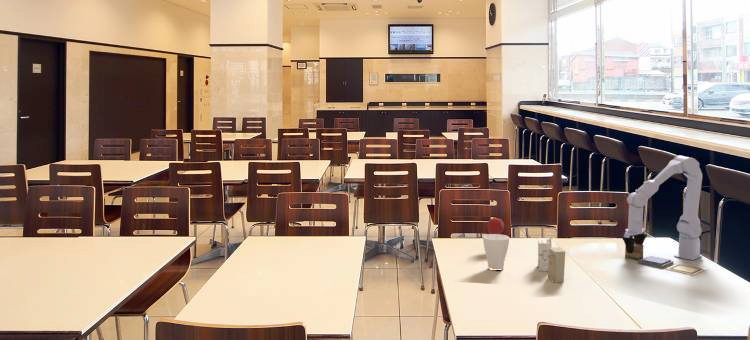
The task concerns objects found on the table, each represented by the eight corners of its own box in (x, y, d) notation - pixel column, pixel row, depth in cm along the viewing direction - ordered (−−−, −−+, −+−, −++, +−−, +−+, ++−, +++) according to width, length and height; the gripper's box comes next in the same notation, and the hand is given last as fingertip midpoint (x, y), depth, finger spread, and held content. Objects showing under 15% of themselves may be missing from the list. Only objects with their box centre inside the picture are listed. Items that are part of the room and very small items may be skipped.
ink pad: (649, 259, 265) (649, 255, 264) (673, 263, 257) (673, 259, 257) (638, 263, 258) (638, 259, 258) (662, 268, 251) (662, 264, 250)
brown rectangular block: (629, 256, 270) (630, 242, 270) (642, 258, 266) (643, 245, 265) (624, 257, 268) (625, 244, 267) (638, 260, 263) (639, 246, 262)
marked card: (677, 264, 256) (677, 263, 256) (705, 269, 248) (705, 268, 248) (665, 269, 249) (665, 268, 249) (694, 275, 241) (694, 274, 241)
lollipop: (487, 252, 279) (487, 219, 277) (486, 247, 287) (487, 216, 285) (504, 252, 278) (504, 220, 276) (503, 248, 285) (504, 216, 283)
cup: (510, 266, 256) (510, 234, 254) (507, 273, 246) (507, 240, 244) (484, 264, 259) (485, 233, 257) (480, 271, 249) (481, 238, 247)
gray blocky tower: (537, 265, 257) (538, 231, 255) (549, 266, 256) (550, 231, 254) (538, 271, 249) (539, 235, 247) (551, 272, 248) (552, 236, 246)
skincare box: (547, 278, 240) (548, 247, 238) (558, 277, 240) (559, 247, 239) (553, 282, 233) (554, 251, 232) (564, 282, 234) (565, 251, 232)
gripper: (634, 216, 272) (633, 246, 274) (618, 221, 263) (616, 252, 265) (650, 219, 267) (648, 249, 269) (634, 224, 258) (632, 255, 259)
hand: (634, 251), depth 266 cm, fingers open, 7 cm apart
